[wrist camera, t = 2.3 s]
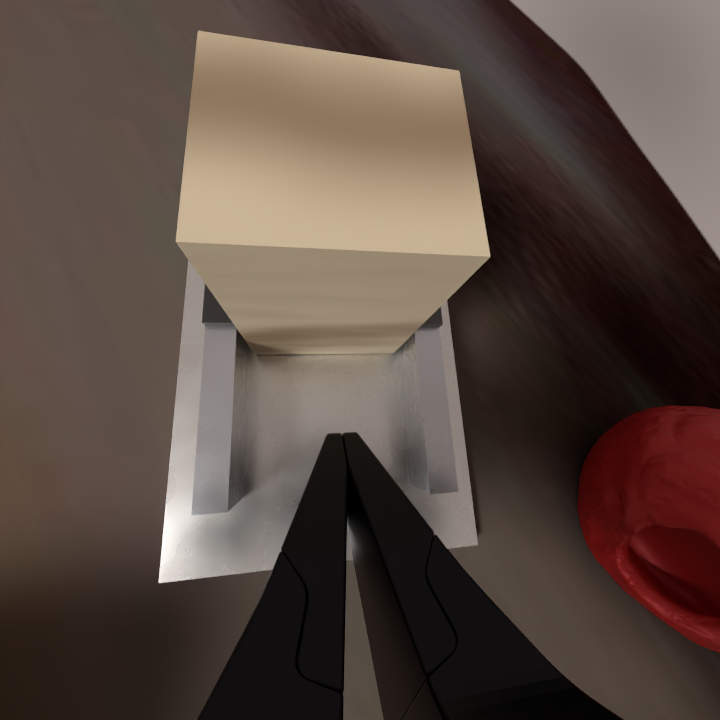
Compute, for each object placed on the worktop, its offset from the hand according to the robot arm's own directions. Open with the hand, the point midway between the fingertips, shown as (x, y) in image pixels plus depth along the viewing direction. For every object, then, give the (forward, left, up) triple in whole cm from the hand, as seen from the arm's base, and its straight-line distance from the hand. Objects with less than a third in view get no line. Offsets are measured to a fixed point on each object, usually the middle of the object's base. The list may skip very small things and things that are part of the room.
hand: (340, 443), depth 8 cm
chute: (+7, -3, -7) cm, 10 cm away
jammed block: (+7, -3, -6) cm, 10 cm away
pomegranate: (-11, -13, -7) cm, 19 cm away
